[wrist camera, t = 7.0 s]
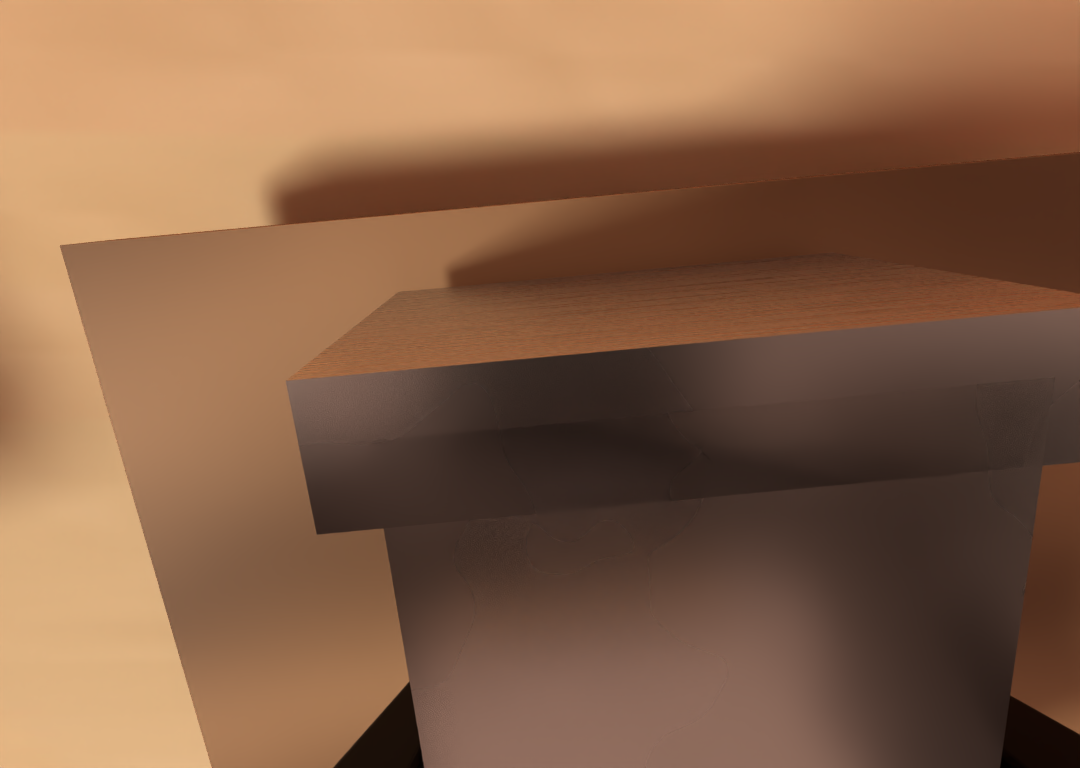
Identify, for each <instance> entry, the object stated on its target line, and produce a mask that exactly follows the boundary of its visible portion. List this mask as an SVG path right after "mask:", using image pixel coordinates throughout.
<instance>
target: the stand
mask: <svg viewBox="0 0 1080 768" xmlns="http://www.w3.org/2000/svg"><path fill="white" fill-rule="evenodd" d="M60 248H61V251H62V255H63V258H64V261H65V265H66V268H67V272H68V275H69V279H70V282H71V285H72V289H73V292H74V296H75V299H76V303H77V306H78V309H79V313H80V316H81V320H82V323H83V327H84V330H85V334H86V337H87V340H88V344H89V347H90V351H91V354H92V358H93V361H94V364H95V368H96V371H97V375H98V378H99V382H100V385H101V388H102V392H103V395H104V399H105V402H106V406H107V409H108V412H109V416H110V419H111V423H112V426H113V430H114V433H115V437H116V440H117V443H118V447H119V450H120V454H121V457H122V461H123V464H124V467H125V471H126V474H127V478H128V481H129V485H130V488H131V491H132V495H133V498H134V502H135V505H136V509H137V512H138V515H139V519H140V522H141V526H142V529H143V533H144V536H145V539H146V543H147V546H148V550H149V553H150V557H151V560H152V564H153V567H154V570H155V574H156V577H157V581H158V584H159V588H160V591H161V594H162V598H163V601H164V605H165V608H166V612H167V615H168V618H169V622H170V625H171V629H172V632H173V636H174V639H175V642H176V646H177V649H178V653H179V656H180V660H181V663H182V667H183V670H184V673H185V677H186V680H187V684H188V687H189V691H190V694H191V697H192V701H193V704H194V708H195V711H196V715H197V718H198V721H199V725H200V728H201V732H202V735H203V739H204V742H205V745H206V749H207V752H208V756H209V759H210V763H211V766H212V768H333V767H334V766H335V765H336V763H337V762H338V761H339V760H340V759H341V758H342V757H343V756H344V754H345V753H346V752H347V751H348V750H349V749H350V748H351V747H352V745H353V744H354V743H355V742H356V741H357V740H358V739H359V738H360V736H361V735H362V734H363V733H364V732H365V731H366V730H367V728H368V727H369V726H370V725H371V724H372V723H373V722H374V721H375V719H376V718H377V717H378V716H379V715H380V714H381V713H382V712H383V710H384V709H385V708H386V707H387V706H388V705H389V704H390V703H391V701H392V700H393V699H394V698H395V697H396V696H397V695H398V693H399V692H400V691H401V690H402V689H403V688H404V687H405V686H406V684H407V683H408V682H409V675H408V669H407V663H406V657H405V651H404V645H403V640H402V634H401V628H400V622H399V616H398V610H397V604H396V598H395V593H394V587H393V581H392V575H391V569H390V563H389V557H388V551H387V546H386V540H385V534H384V528H382V529H372V530H361V531H351V532H340V533H330V534H319V535H317V533H316V528H315V524H314V519H313V514H312V509H311V504H310V499H309V494H308V489H307V484H306V479H305V474H304V469H303V464H302V459H301V454H300V450H299V445H298V440H297V435H296V430H295V425H294V420H293V415H292V410H291V405H290V400H289V395H288V390H287V385H286V380H287V379H289V378H290V377H291V376H292V375H294V374H295V373H296V372H297V371H299V370H300V369H301V368H302V367H304V366H305V365H306V364H307V363H309V362H310V361H311V360H313V359H314V358H315V357H316V356H318V355H319V354H320V353H321V352H323V351H324V350H325V349H326V348H328V347H329V346H330V345H332V344H333V343H334V342H335V341H337V340H338V339H339V338H340V337H342V336H343V335H344V334H345V333H347V332H348V331H349V330H351V329H352V328H353V327H354V326H356V325H357V324H358V323H359V322H361V321H362V320H363V319H364V318H366V317H367V316H368V315H370V314H371V313H372V312H373V311H375V310H376V309H377V308H378V307H380V306H381V305H382V304H383V303H385V302H386V301H387V300H389V299H390V298H391V297H392V296H394V295H395V294H396V293H397V292H403V291H414V290H425V289H436V288H447V287H458V286H469V285H480V284H491V283H502V282H513V281H524V280H535V279H546V278H557V277H568V276H579V275H590V274H601V273H613V272H624V271H635V270H646V269H657V268H668V267H679V266H690V265H701V264H712V263H723V262H734V261H745V260H756V259H767V258H778V257H789V256H800V255H811V254H822V253H839V254H845V255H851V256H857V257H863V258H869V259H875V260H881V261H887V262H893V263H899V264H905V265H911V266H917V267H923V268H929V269H935V270H941V271H947V272H953V273H959V274H965V275H971V276H977V277H983V278H989V279H995V280H1001V281H1007V282H1013V283H1019V284H1025V285H1031V286H1037V287H1043V288H1049V289H1055V290H1061V291H1067V292H1073V293H1079V294H1080V152H1075V153H1064V154H1053V155H1042V156H1031V157H1020V158H1009V159H998V160H987V161H976V162H965V163H954V164H943V165H932V166H921V167H910V168H899V169H888V170H877V171H866V172H855V173H844V174H833V175H822V176H811V177H800V178H789V179H778V180H767V181H756V182H745V183H734V184H722V185H711V186H700V187H689V188H678V189H667V190H656V191H645V192H634V193H623V194H612V195H601V196H590V197H579V198H568V199H557V200H546V201H535V202H524V203H513V204H502V205H491V206H480V207H469V208H458V209H447V210H436V211H425V212H414V213H403V214H392V215H381V216H370V217H359V218H348V219H337V220H326V221H315V222H304V223H293V224H282V225H271V226H260V227H249V228H238V229H227V230H216V231H205V232H194V233H183V234H172V235H161V236H150V237H139V238H128V239H117V240H107V241H98V242H88V243H79V244H70V245H60ZM1010 695H1011V696H1013V697H1014V698H1016V699H1018V700H1020V701H1022V702H1023V703H1025V704H1027V705H1029V706H1030V707H1032V708H1034V709H1036V710H1038V711H1039V712H1041V713H1043V714H1045V715H1046V716H1048V717H1050V718H1052V719H1054V720H1055V721H1057V722H1059V723H1061V724H1062V725H1064V726H1066V727H1068V728H1070V729H1071V730H1073V731H1075V732H1077V733H1078V734H1080V462H1077V463H1067V464H1056V465H1046V466H1043V467H1042V474H1041V481H1040V488H1039V495H1038V502H1037V509H1036V516H1035V523H1034V530H1033V538H1032V545H1031V552H1030V559H1029V566H1028V573H1027V580H1026V587H1025V594H1024V601H1023V608H1022V615H1021V622H1020V630H1019V637H1018V644H1017V651H1016V658H1015V665H1014V672H1013V679H1012V686H1011V693H1010Z"/></svg>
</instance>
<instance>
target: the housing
mask: <svg viewBox="0 0 1080 768" xmlns="http://www.w3.org/2000/svg"><path fill="white" fill-rule="evenodd" d="M286 385H287V390H288V395H289V400H290V405H291V410H292V415H293V420H294V425H295V430H296V435H297V440H298V445H299V450H300V454H301V459H302V464H303V469H304V474H305V479H306V484H307V489H308V494H309V499H310V504H311V509H312V514H313V519H314V524H315V528H316V533H317V535H319V534H330V533H340V532H351V531H361V530H372V529H382V528H384V534H385V540H386V546H387V551H388V557H389V563H390V569H391V575H392V581H393V587H394V593H395V598H396V604H397V610H398V616H399V622H400V628H401V634H402V640H403V645H404V651H405V657H406V663H407V669H408V675H409V681H410V687H411V692H412V698H413V704H414V710H415V716H416V722H417V728H418V734H419V740H420V745H421V751H422V757H423V763H424V768H1000V764H1001V757H1002V750H1003V743H1004V736H1005V729H1006V722H1007V714H1008V707H1009V700H1010V693H1011V686H1012V679H1013V672H1014V665H1015V658H1016V651H1017V644H1018V637H1019V630H1020V622H1021V615H1022V608H1023V601H1024V594H1025V587H1026V580H1027V573H1028V566H1029V559H1030V552H1031V545H1032V538H1033V530H1034V523H1035V516H1036V509H1037V502H1038V495H1039V488H1040V481H1041V474H1042V467H1043V466H1046V465H1056V464H1067V463H1077V462H1080V294H1079V293H1073V292H1067V291H1061V290H1055V289H1049V288H1043V287H1037V286H1031V285H1025V284H1019V283H1013V282H1007V281H1001V280H995V279H989V278H983V277H977V276H971V275H965V274H959V273H953V272H947V271H941V270H935V269H929V268H923V267H917V266H911V265H905V264H899V263H893V262H887V261H881V260H875V259H869V258H863V257H857V256H851V255H845V254H839V253H822V254H811V255H800V256H789V257H778V258H767V259H756V260H745V261H734V262H723V263H712V264H701V265H690V266H679V267H668V268H657V269H646V270H635V271H624V272H613V273H601V274H590V275H579V276H568V277H557V278H546V279H535V280H524V281H513V282H502V283H491V284H480V285H469V286H458V287H447V288H436V289H425V290H414V291H403V292H397V293H396V294H395V295H394V296H392V297H391V298H390V299H389V300H387V301H386V302H385V303H383V304H382V305H381V306H380V307H378V308H377V309H376V310H375V311H373V312H372V313H371V314H370V315H368V316H367V317H366V318H364V319H363V320H362V321H361V322H359V323H358V324H357V325H356V326H354V327H353V328H352V329H351V330H349V331H348V332H347V333H345V334H344V335H343V336H342V337H340V338H339V339H338V340H337V341H335V342H334V343H333V344H332V345H330V346H329V347H328V348H326V349H325V350H324V351H323V352H321V353H320V354H319V355H318V356H316V357H315V358H314V359H313V360H311V361H310V362H309V363H307V364H306V365H305V366H304V367H302V368H301V369H300V370H299V371H297V372H296V373H295V374H294V375H292V376H291V377H290V378H289V379H287V380H286Z"/></svg>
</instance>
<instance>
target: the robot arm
mask: <svg viewBox="0 0 1080 768" xmlns="http://www.w3.org/2000/svg"><path fill="white" fill-rule="evenodd" d="M333 768H424V763H423V757H422V751H421V745H420V740H419V734H418V728H417V722H416V716H415V710H414V704H413V698H412V692H411V687H410V681H409V682H408V683H407V684H406V686H405V687H404V688H403V689H402V690H401V691H400V692H399V693H398V695H397V696H396V697H395V698H394V699H393V700H392V701H391V703H390V704H389V705H388V706H387V707H386V708H385V709H384V710H383V712H382V713H381V714H380V715H379V716H378V717H377V718H376V719H375V721H374V722H373V723H372V724H371V725H370V726H369V727H368V728H367V730H366V731H365V732H364V733H363V734H362V735H361V736H360V738H359V739H358V740H357V741H356V742H355V743H354V744H353V745H352V747H351V748H350V749H349V750H348V751H347V752H346V753H345V754H344V756H343V757H342V758H341V759H340V760H339V761H338V762H337V763H336V765H335V766H334V767H333ZM1000 768H1080V734H1078V733H1077V732H1075V731H1073V730H1071V729H1070V728H1068V727H1066V726H1064V725H1062V724H1061V723H1059V722H1057V721H1055V720H1054V719H1052V718H1050V717H1048V716H1046V715H1045V714H1043V713H1041V712H1039V711H1038V710H1036V709H1034V708H1032V707H1030V706H1029V705H1027V704H1025V703H1023V702H1022V701H1020V700H1018V699H1016V698H1014V697H1013V696H1011V695H1010V700H1009V707H1008V714H1007V722H1006V729H1005V736H1004V743H1003V750H1002V757H1001V764H1000Z"/></svg>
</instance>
